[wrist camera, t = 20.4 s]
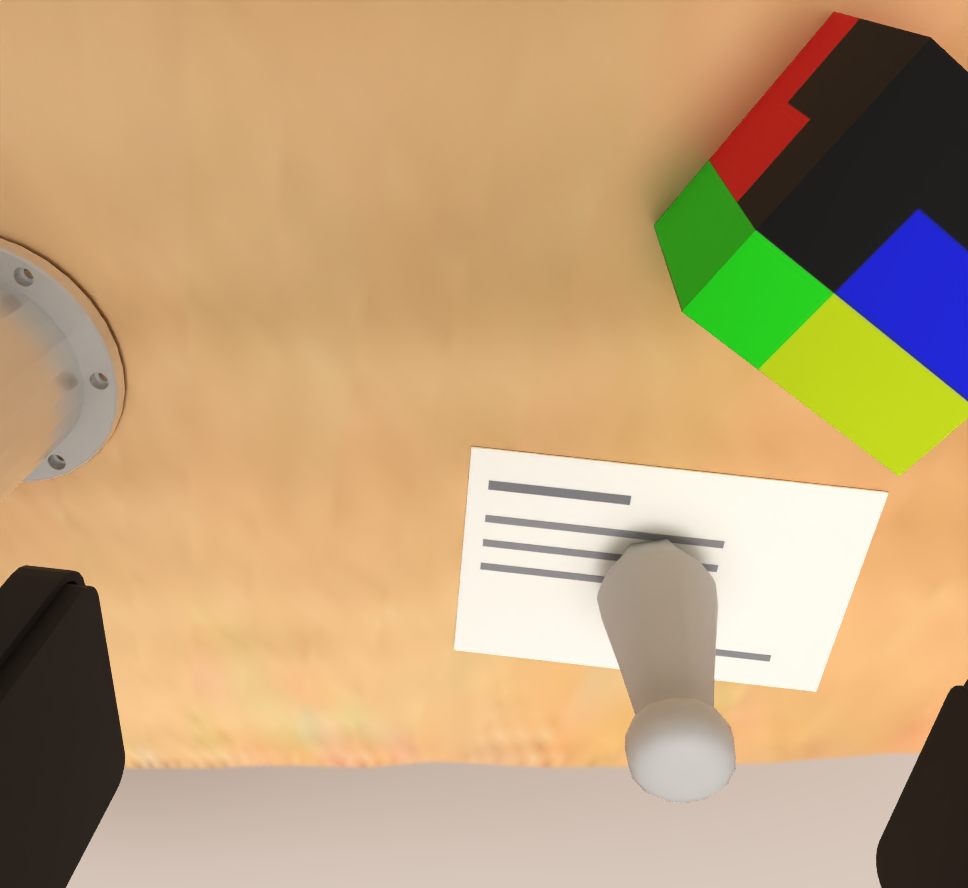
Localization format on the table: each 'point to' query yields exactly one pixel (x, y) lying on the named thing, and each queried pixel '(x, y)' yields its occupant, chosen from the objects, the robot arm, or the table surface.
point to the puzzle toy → (842, 237)
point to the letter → (648, 517)
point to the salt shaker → (668, 670)
